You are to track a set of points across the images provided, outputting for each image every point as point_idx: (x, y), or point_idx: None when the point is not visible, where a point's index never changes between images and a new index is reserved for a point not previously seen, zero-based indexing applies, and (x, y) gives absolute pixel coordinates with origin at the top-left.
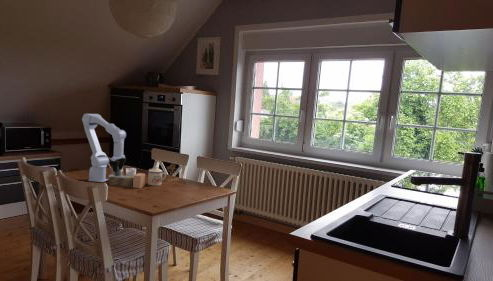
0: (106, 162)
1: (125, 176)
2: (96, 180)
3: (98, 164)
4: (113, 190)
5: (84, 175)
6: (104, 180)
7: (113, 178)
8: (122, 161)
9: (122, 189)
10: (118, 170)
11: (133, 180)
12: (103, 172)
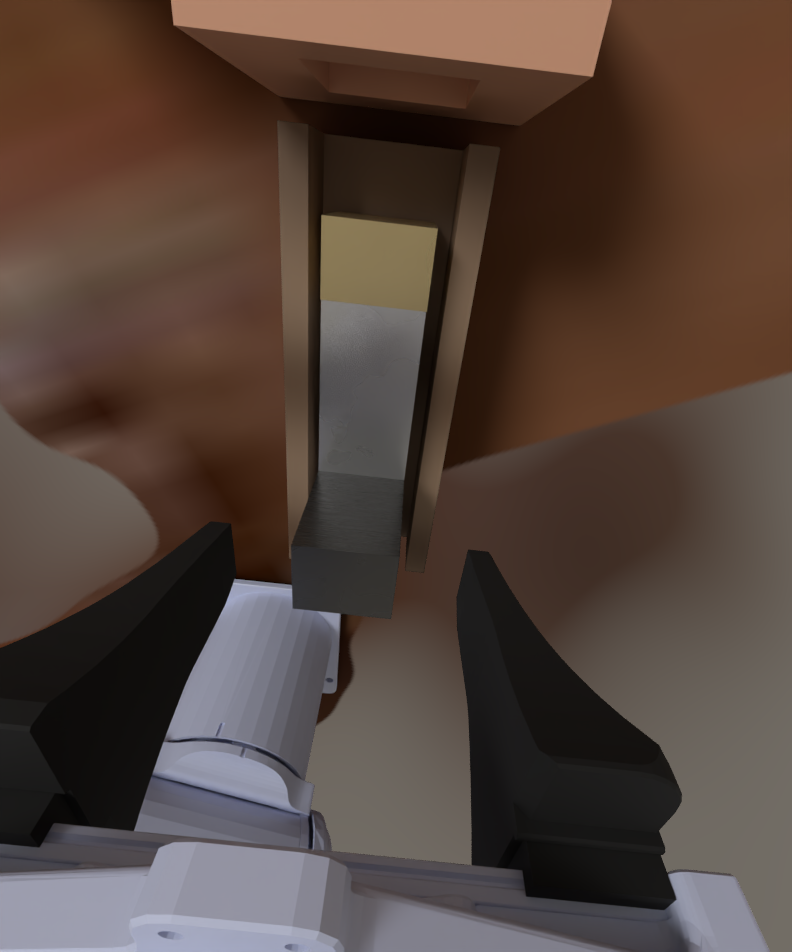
0: (151, 823)
1: (382, 360)
2: (332, 644)
3: (322, 847)
4: (737, 373)
5: None
6: (284, 592)
7: (432, 514)
8: (117, 689)
9: (675, 268)
10: (398, 549)
11: (552, 98)
12: (274, 684)
